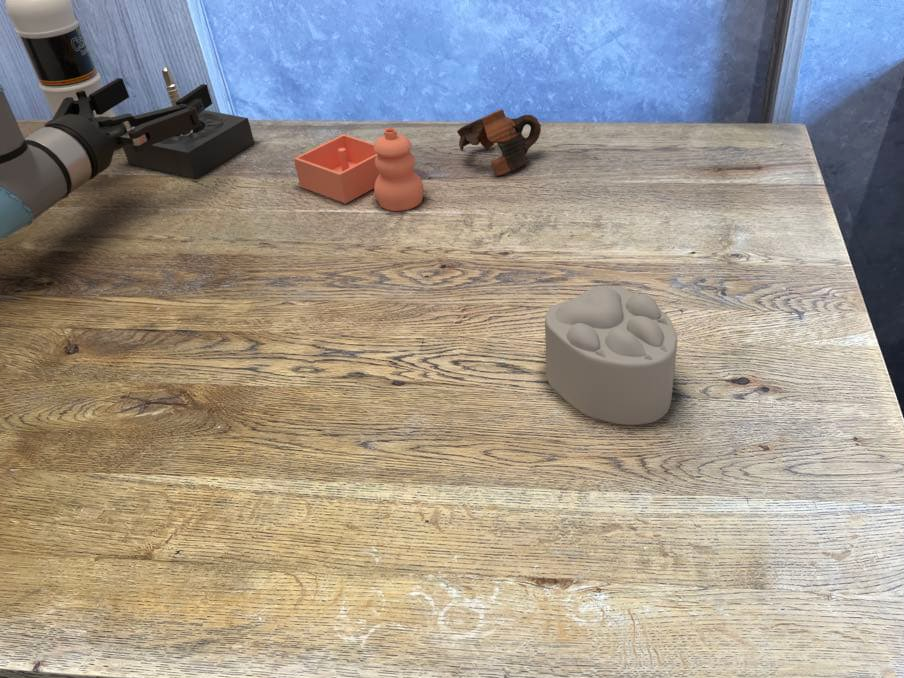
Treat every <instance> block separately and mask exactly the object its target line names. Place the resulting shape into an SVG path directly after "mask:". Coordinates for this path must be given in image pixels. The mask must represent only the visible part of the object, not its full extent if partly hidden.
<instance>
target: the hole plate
mask: <svg viewBox="0 0 904 678" xmlns="http://www.w3.org/2000/svg"><path fill="white" fill-rule="evenodd" d="M198 117H199V120H200V123H201V126H200V127H198V128H196V129H193V132H192V133H195V134H192V135H188V136H182V137H177V136H179V135H177V136H174V137H172V138H169V139H166V140H163V141H161V142H158V143H155V144H153V145H151V146H149V147H148V148H146V149H144V150H142V151H135V150H134V148H133V145H130V144H129V145H125V146H124V147H122V149H123V152H124V154H125V157H126V160H127V162H128V164H129V165H130V166H135V167H141V168H144V169H149V170H154V171H158V172H162V173H167V174H172V175H177V176H180V177H185V178H190V179H195V180H196V179H198V178H200V177H201V176H203V175H205V174H206V173H209V172H210V171H212V170H213V169H214V168H216V167H219V166H220V165H221V164H223V163H224V162H227V161H228V160H230V159H231V158H232V157H234V156H236V155H237V154H239V153H240V152H242V151H244V150H246V149H247V148H249V147H251V146H253V145H254V144H255V139H254V136H253V132H252V128H251V125H250V121H249V118H248V117H246V116H245V117H244V116H239V115H235V114H228V113H222V112H217V111H211V110H207V109H204V110H203V111H202V112H200V113H199V114H198Z"/></svg>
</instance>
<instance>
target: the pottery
mask: <svg viewBox="0 0 904 678" xmlns="http://www.w3.org/2000/svg"><path fill="white" fill-rule="evenodd" d="M411 148H412V143H411V140H410V139H409V138H408V137H407V136H405V135H403V134H399V133H398V129H397V128H395V127H387V128H384V129H383V135H382V136H380V137H378V138H377V139H376V140H375V141H374V143H373V142H369V141H367V140H364V139H361V138H358V137H354V136H352V135H348V134H345V133H343V134H341V135H339V136H337V137H334V138H333V139H331V140H328V141H326V142H325V143H322V144H320V145H318V146H317V147H314V148H312V149H310V150H308V151H306V152H303V153H302V154H300V155H298V156H296V157H294V158H293V162H294V165H295V171H296V174H297V178H298V182H299V183H298V184H299V186H300V187H301V188H303V189H305V190H308V191H310V192H313V193H316V194H318V195H321V196H323V197H327V198H328V199H329V198H330V199H332V200H334V201H337V202H339V203H343V204H348V203H350V202H352V201H353V200H355V199H357V198H359V197H361V196H362V195H364V194H366V193H368V192H369V191H371V190H373V189H374V190H373V191H374V192H373V193H374V196H375V197H376V200H377V202H378V205H379V206H380V208H382V209H385V210H387V211H391V212H392V211H393V212H401V211H408V210H411V209H413V208H416V207H418V206H419V205H420V204H421V203H422V202H423V198H424V197H423V196H424V184H423V181H422V179H421V177H420V176H419V174H418V173H417V172H416V171H415V170H414V168H415V165H416V160H415V156H414V154H413V153H412V152H411V151H410V150H411Z"/></svg>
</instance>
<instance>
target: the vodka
mask: <svg viewBox="0 0 904 678" xmlns="http://www.w3.org/2000/svg"><path fill="white" fill-rule="evenodd" d="M72 2H73V1H72V0H5V11H6V13H7V15H8V17H9V19H10V21H11V23H12V25H13V26H14V32H15V34H17V35H18V37H19V39H20V42H21V44H22V46H23V49H24V50H25V53H26V55H27V57H28V60H29V62H30V64H31V66H32V69H33V71H34V73H35V76H36V78H37V80H38V83H39V84H38V87H39V89H40V90H41V91H42V93H43V96H44V97H45V99H46V101H47V104H48V106H49V109H50V111H51V114H52V116H53V117H54V115H55V114H56V112H57V110H58V108H59V107H60V105H61V103H62V102H63V100H64V99H65V98H67V97H72V98H73V99H74V101H77V100H78V98H77V95H76V92H78V91H85V93H86V95H87V97H89V95H90V94H92V93H93V92H95V91H97V90H98V89H100V88H102V87H104V85H103V83H102V79H101V78H102V77H101V76H102V75H101V74H100V73H99V72H98V70H97V68H96V64H95V62H94V60H93V57H92V55H91V52H90V49H89V47H88V44H87V42H86V39H85V36H84V34H83V31H82V28H81V26H80V23H79V20H78V18H77V16H76V13H75V11H74V7H73V3H72ZM93 113H94V116H95V118H96V117H100V116H101V117H115V116H117V114H116V112H115V111H114V109H113V108H111V109H110V110H108V111H106V112H105V113H103V114H102V115H97V114H96V112H95V110H94V111H93Z"/></svg>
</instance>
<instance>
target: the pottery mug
mask: <svg viewBox="0 0 904 678" xmlns="http://www.w3.org/2000/svg"><path fill="white" fill-rule="evenodd" d="M527 125H528V126H529V127H530V130H529V134H528V136H527V137H525V136H524V135H523V130H524V127H526V126H527ZM541 126H542V125H541V123H540V122H539V119H538V118H537V117H535V116H534V115H533V114H524V115H521V116H519V117H516V118H510V117H508V116H506V113H505V111H504V109H498V110H496V111H493V112H491V113H490V114H487V115H485V116H483V117H481V118H478V119H476V120H473V121H472V122H469V123H467V124H466V125H464V126H461V127H460V128H459V129H458V130H457V131H456V132H457V135H458V136H459V142H458V146H459V149H460V151H461V152H463V151H464V147H466V146H468V145H472V146H478V145H480V144H481V145H480V146H482V147H483V148H484V149H485V150H490V148H492V147H493V146H494V145H495V144H496V145H497V147H498V148H499V149H500V152H501V154H502V155H501V156H500V157H498V158H496V159H494V160H492V161H491V162H490V163H491V166H492V168H493V170H494V173H495V176H496V177H500V176H503V175H505V174H507V173H509V172H512V171H514V170H517V169H520V168H522V167H524V166H525V165H526V164H527V163H526V161H527V160H526V155H527V153H528V151H529V149H530V148H531V147H532V146H534V145H535V144H536V143H537V142H538V140H539V138H540V135H541V132H542V127H541Z"/></svg>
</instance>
